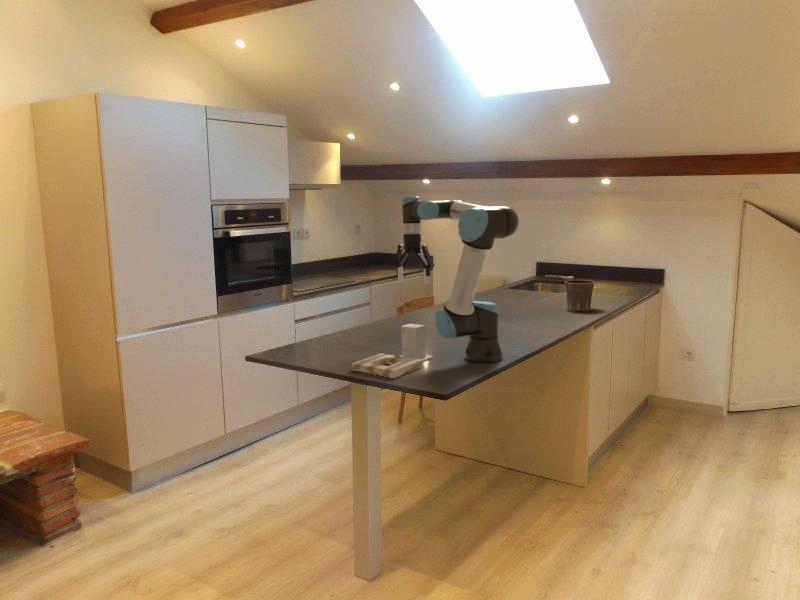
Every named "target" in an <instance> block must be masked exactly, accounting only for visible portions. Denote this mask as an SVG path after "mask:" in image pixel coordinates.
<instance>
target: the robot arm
mask: <svg viewBox="0 0 800 600" xmlns="http://www.w3.org/2000/svg"><path fill="white" fill-rule="evenodd" d="M401 209H402V211H401V212H402V230H403V231H402V232H403V233H404V234H403V236H402V238H403V239H402V240H403V244H402V243H401V244H398V245H397V250H396V252H395V253H396V254H395V256H394V258H393V262H392V264H391V265H392V266H395V267H396V275H397V282H398V283H403V282H404V266H403V264H404V262H405V261H406V259H407V258H408V257H409V256H416V257H417V258H418V260H419V261H420V263H421V264H422V265H423V267H424V268H423V284H424V285H428V284H430V277H431V268H434V267H435V264H434V262H433V261H434V260H433V259H432V255H431V254H430V252H429V250H428V245H427V244H421V243H422V235H421V232H422V228H421V227H422V225H421V221H422V220H423V221H424V220H425V221H431V220H439V219H440V220H441V219H450V220H454V221H458V223H457V229H458V235H459V237H460V238H461V242H462V245H463V248H462V252H461V256H460V259H459V260H460V261H459V263H458V268H457V271H456V276H455V279H454V283H453V286H452V289H451V290H452V291H451V294H450V298H448V299H446V301H445V302H444V305H443V308H439V310H437V311H436V312H435V315H434V324H435V328H436V330H437V332H438V333H439V335H440V336H441V337H443V339H446V340H448V339H456V338H463V337H468V339H469V340H468V342H467V345H466V348H465V352H464V358H465V360H467V361H470V362H473V363H493V362H499V361H502V360H503V359H504V351H503V350H502V347H501V343H500V340H499V315H500V313H499V306H498V304H497V303H494V302H490V301H485V300H484V301H483V300H474V299H475V295H476V292H477V288H478V285H479V280H480V277H481V274H482V270H483V267H484V263H485V260H486V256H487V252H488V251H490V250H492V248H493V247H494V243H495V240H500V239H506V238H509V237H511V236H512V235H513V234H514V233H515V232H516V231H517V229H518V227H519V222H520V220H519V217H518V216H519V215H518V213H517V212H516V210H514V209H513V208H511V207H510V206H503V205H501V206H498V205H497V206H485V205H480V204H479V205H478V204H473V203H469V202H463V200H461V199H448V200H447V199H444V200H443V199H442V200H421V199H420V196H419V195H417V196H404V197H403V198H402V205H401Z"/></svg>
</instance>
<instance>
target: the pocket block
mask: <svg viewBox="0 0 800 600" xmlns="http://www.w3.org/2000/svg"><path fill="white" fill-rule="evenodd" d="M422 363H423V362H422V360H420V359H414V358H407V357H401V355H393V354H386V353H382V352H381V353H377V354H375V355H373V356H369V357H367V358H364V359H362V360H358V361H355V362H353V363H351V369H352V368H353V369H357V370H361V371H364V372H368V373H372V374H376V375H380V376H379V377H381V376H384V377H383V378H387V377H389V378H388V379H392V378H394V379H397V378H399V377H402V376H404V375H406V373H407V374H409V373H411V372H413V371H417V370H418V369H421V368H422V367H423V366H422V365H423V364H422ZM383 364H391V365H383ZM376 375H375V376H376ZM401 375H402V376H401ZM396 377H397V378H396Z"/></svg>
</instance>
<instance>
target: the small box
mask: <svg viewBox="0 0 800 600" xmlns="http://www.w3.org/2000/svg"><path fill="white" fill-rule="evenodd" d="M400 331H401V333H400V334H401V335H400V336H401V338H400V339H401V355H402V357H407V358H414V359H420V358H423V357H426V355H427V333H426V332H427V331H426V325H423V324H418V323H417V324H415V323H407V324H403V325H401V326H400Z"/></svg>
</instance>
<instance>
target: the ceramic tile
mask: <svg viewBox="0 0 800 600" xmlns="http://www.w3.org/2000/svg"><path fill="white" fill-rule="evenodd" d="M400 356H401V357H402V354H401V355H400ZM431 358H432V359H433V358H434V355H429V354H426V357H423V358H420V360H422V363H425V362H426V360H427V361H429V360H432V359H431ZM428 359H429V360H428Z"/></svg>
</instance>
